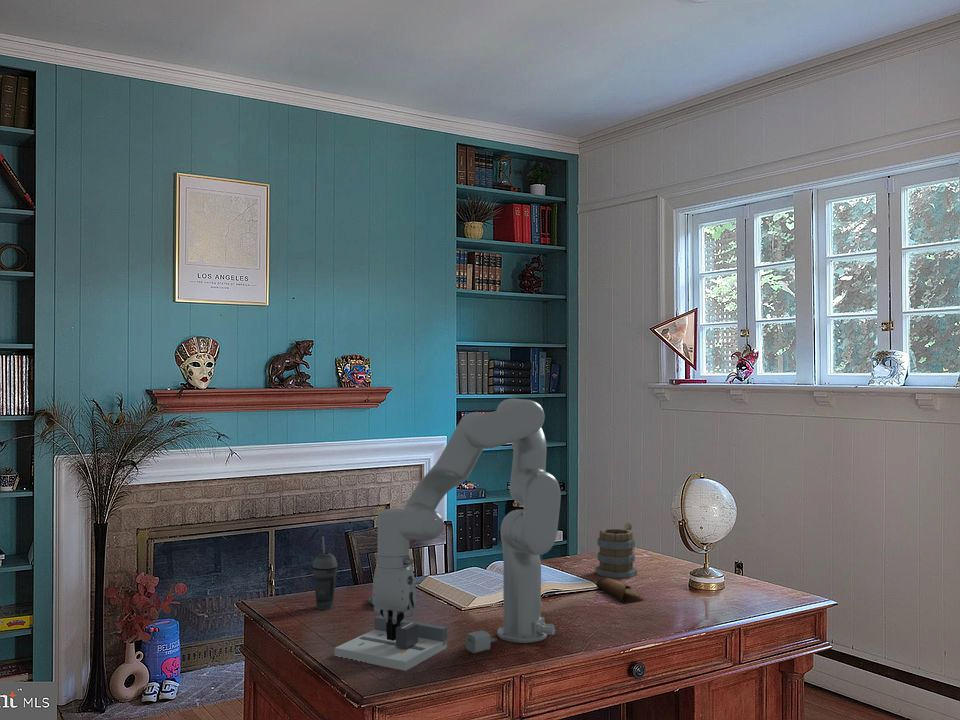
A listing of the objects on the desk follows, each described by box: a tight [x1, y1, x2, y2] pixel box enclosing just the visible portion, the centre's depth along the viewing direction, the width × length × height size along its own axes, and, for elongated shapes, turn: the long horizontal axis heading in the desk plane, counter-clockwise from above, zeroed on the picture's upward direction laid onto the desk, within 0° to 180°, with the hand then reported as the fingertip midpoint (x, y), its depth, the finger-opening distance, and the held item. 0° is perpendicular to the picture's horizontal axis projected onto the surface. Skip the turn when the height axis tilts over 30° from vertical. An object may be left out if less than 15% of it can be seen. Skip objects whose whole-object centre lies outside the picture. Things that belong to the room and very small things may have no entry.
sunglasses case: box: [596, 577, 647, 604], centre depth 253 cm, size 18×7×7 cm
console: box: [334, 615, 448, 672], centre depth 201 cm, size 20×18×5 cm
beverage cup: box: [311, 535, 339, 611], centre depth 239 cm, size 7×7×20 cm
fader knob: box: [396, 622, 418, 649], centre depth 199 cm, size 3×5×4 cm, turn 151°
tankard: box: [594, 522, 638, 579], centre depth 282 cm, size 20×13×15 cm, turn 147°
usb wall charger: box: [465, 630, 498, 654], centre depth 204 cm, size 4×7×4 cm, turn 125°
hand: (393, 638), depth 201 cm, fingers closed
